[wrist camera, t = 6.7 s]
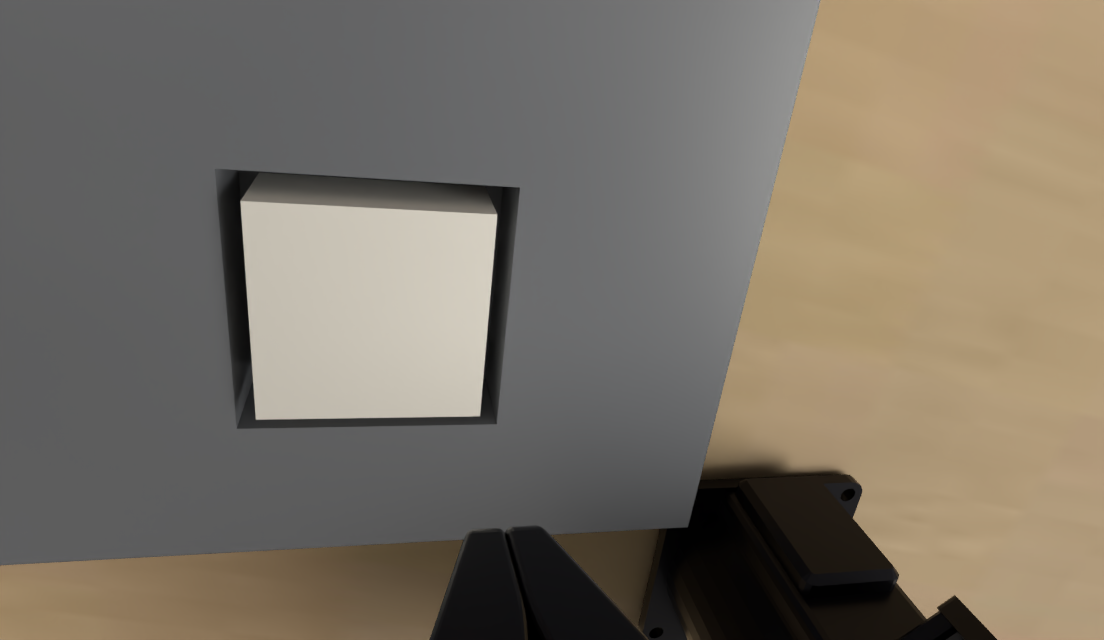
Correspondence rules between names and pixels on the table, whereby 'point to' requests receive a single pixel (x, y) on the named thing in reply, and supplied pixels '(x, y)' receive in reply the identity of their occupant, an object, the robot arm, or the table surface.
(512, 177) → the keypad
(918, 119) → the table surface
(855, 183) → the table surface
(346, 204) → the cream key
